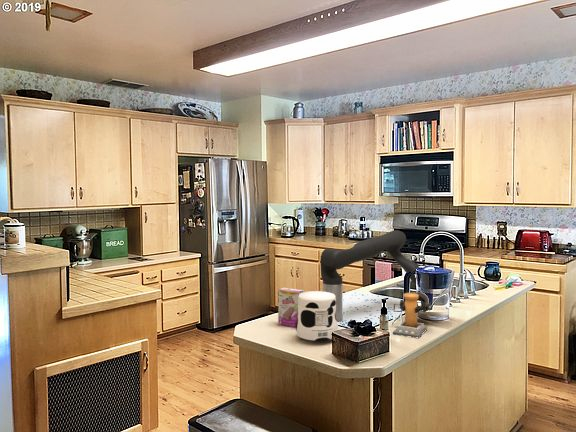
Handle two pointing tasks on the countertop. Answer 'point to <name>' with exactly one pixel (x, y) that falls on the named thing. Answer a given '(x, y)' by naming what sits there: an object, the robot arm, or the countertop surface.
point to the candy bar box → (288, 306)
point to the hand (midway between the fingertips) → (409, 309)
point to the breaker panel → (409, 330)
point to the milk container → (316, 316)
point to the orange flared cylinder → (410, 309)
